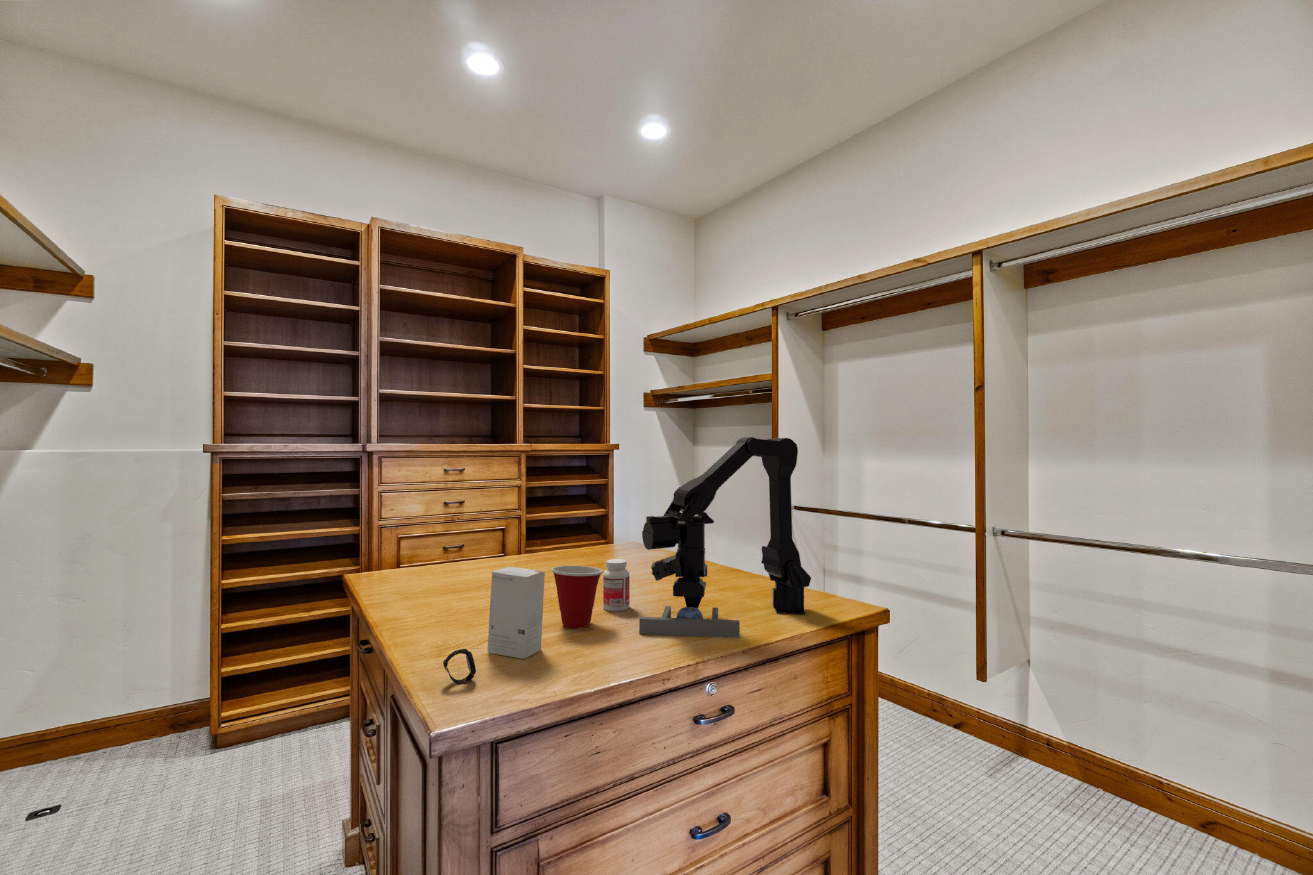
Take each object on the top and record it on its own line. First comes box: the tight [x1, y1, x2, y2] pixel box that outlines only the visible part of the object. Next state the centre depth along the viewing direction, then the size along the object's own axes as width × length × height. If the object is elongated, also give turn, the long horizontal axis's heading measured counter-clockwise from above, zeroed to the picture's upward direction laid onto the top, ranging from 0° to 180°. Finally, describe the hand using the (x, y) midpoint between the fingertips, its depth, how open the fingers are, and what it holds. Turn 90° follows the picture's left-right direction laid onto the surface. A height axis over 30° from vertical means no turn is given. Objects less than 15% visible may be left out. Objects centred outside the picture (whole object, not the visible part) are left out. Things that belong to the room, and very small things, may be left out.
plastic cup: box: [551, 565, 604, 630], centre depth 120 cm, size 11×11×12 cm
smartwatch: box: [442, 648, 477, 685], centre depth 90 cm, size 4×5×5 cm
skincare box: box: [487, 566, 546, 660], centre depth 104 cm, size 8×6×15 cm
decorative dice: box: [675, 606, 704, 619], centre depth 117 cm, size 4×4×4 cm
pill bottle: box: [602, 558, 631, 612], centre depth 132 cm, size 6×6×11 cm
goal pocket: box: [638, 605, 741, 639], centre depth 117 cm, size 20×10×3 cm, turn 83°
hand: (691, 618), depth 121 cm, fingers closed
